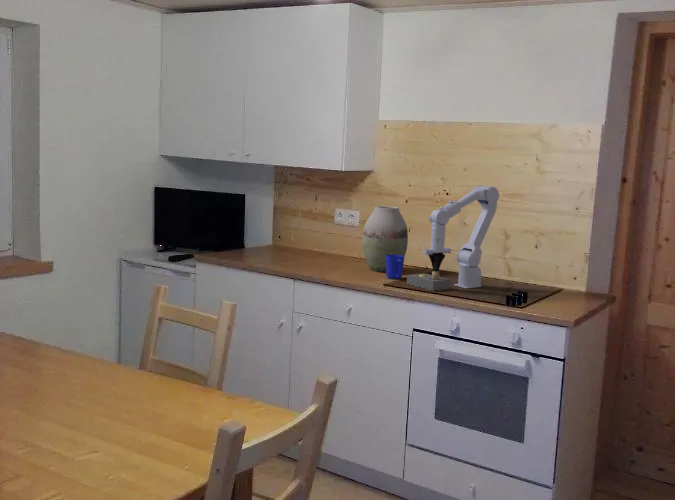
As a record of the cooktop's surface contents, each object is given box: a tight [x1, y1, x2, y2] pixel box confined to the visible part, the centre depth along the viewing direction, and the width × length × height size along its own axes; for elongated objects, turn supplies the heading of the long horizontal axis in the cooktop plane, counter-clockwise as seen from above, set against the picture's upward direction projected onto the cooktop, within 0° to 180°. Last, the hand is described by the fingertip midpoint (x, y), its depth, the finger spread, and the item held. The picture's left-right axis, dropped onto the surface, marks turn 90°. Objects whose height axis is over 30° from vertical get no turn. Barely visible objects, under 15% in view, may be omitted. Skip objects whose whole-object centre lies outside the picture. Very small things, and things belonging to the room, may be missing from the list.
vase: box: [362, 205, 409, 273], centre depth 344 cm, size 21×21×30 cm
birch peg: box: [431, 270, 440, 280], centre depth 305 cm, size 3×3×4 cm
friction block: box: [406, 272, 452, 292], centre depth 309 cm, size 10×16×4 cm, turn 37°
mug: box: [385, 255, 405, 280], centre depth 324 cm, size 8×12×10 cm
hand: (435, 270), depth 305 cm, fingers closed
